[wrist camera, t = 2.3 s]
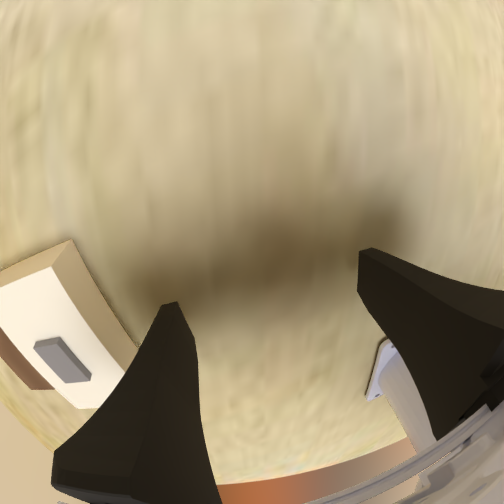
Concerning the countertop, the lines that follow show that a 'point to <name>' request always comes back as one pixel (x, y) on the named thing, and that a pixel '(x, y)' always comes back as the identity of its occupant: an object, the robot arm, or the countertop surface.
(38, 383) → the brown flat slab
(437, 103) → the countertop surface
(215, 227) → the countertop surface
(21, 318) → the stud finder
